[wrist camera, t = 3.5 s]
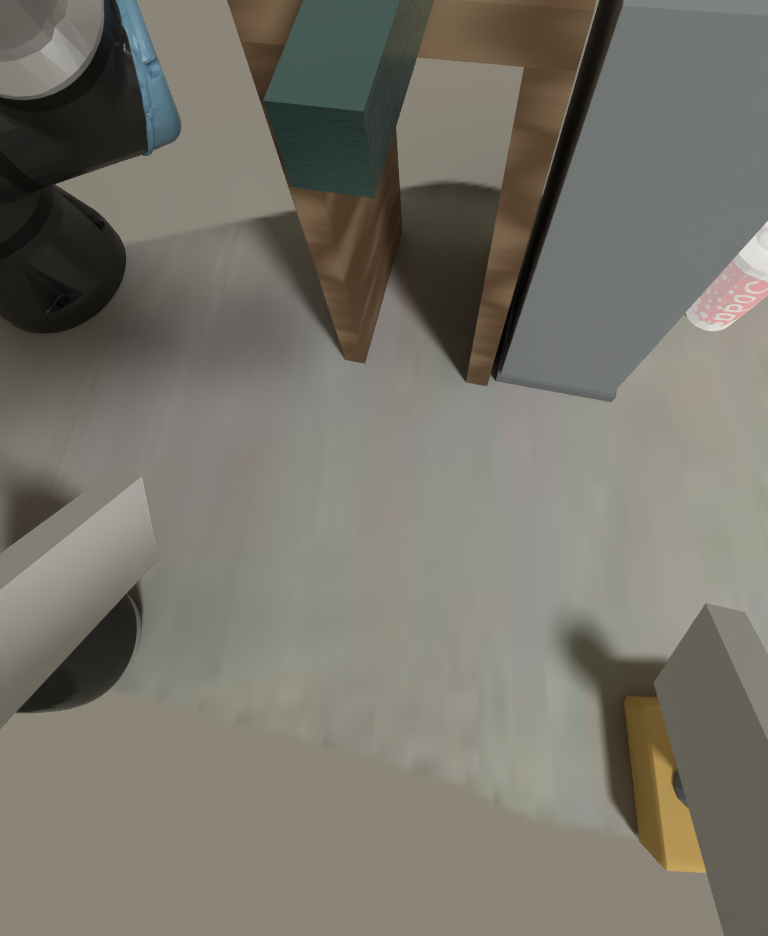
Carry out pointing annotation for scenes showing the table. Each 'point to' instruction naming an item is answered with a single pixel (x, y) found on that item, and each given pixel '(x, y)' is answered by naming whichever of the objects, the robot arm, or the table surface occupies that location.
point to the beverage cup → (734, 287)
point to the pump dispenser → (92, 663)
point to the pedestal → (642, 190)
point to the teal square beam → (343, 90)
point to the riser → (379, 219)
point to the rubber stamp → (659, 789)
